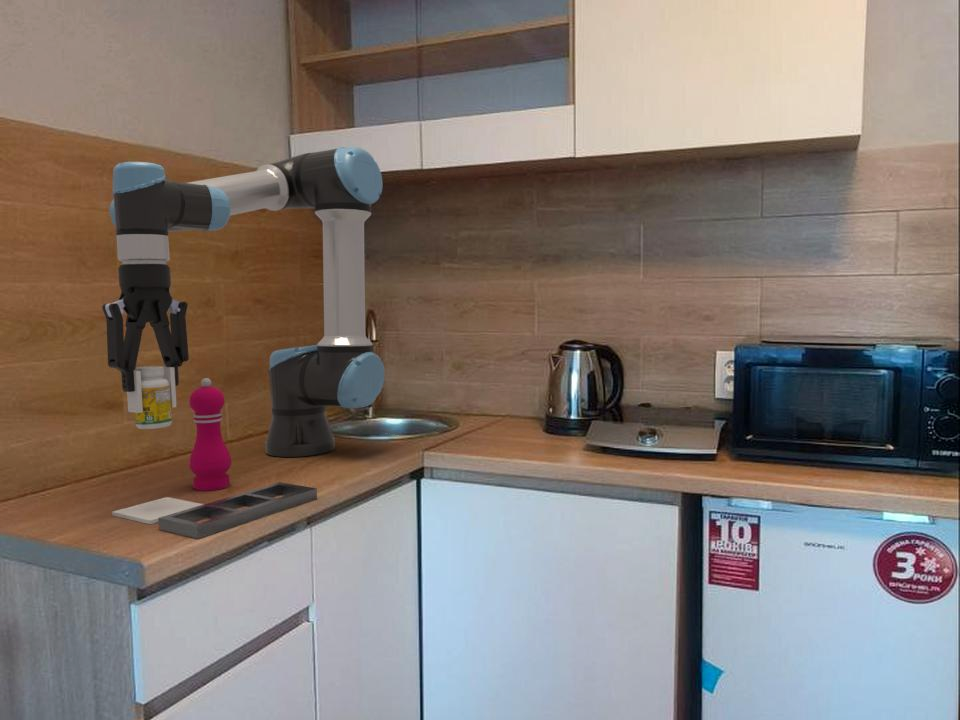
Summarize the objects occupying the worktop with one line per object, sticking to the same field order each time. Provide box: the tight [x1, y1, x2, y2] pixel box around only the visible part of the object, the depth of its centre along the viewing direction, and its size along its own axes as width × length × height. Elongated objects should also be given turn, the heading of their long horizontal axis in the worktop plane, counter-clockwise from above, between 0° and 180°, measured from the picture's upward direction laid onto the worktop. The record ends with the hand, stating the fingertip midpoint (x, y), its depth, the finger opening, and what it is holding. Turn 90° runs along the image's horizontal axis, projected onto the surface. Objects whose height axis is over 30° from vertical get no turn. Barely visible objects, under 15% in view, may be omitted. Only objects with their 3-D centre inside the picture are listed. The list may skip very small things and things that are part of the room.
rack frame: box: [157, 481, 318, 540], centre depth 122 cm, size 24×9×2 cm, turn 148°
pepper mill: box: [188, 377, 232, 492], centre depth 139 cm, size 7×7×20 cm
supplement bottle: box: [134, 365, 173, 430], centre depth 122 cm, size 5×5×10 cm
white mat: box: [111, 496, 204, 525], centre depth 124 cm, size 10×10×1 cm
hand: (152, 409), depth 123 cm, fingers closed on supplement bottle, 5 cm apart
